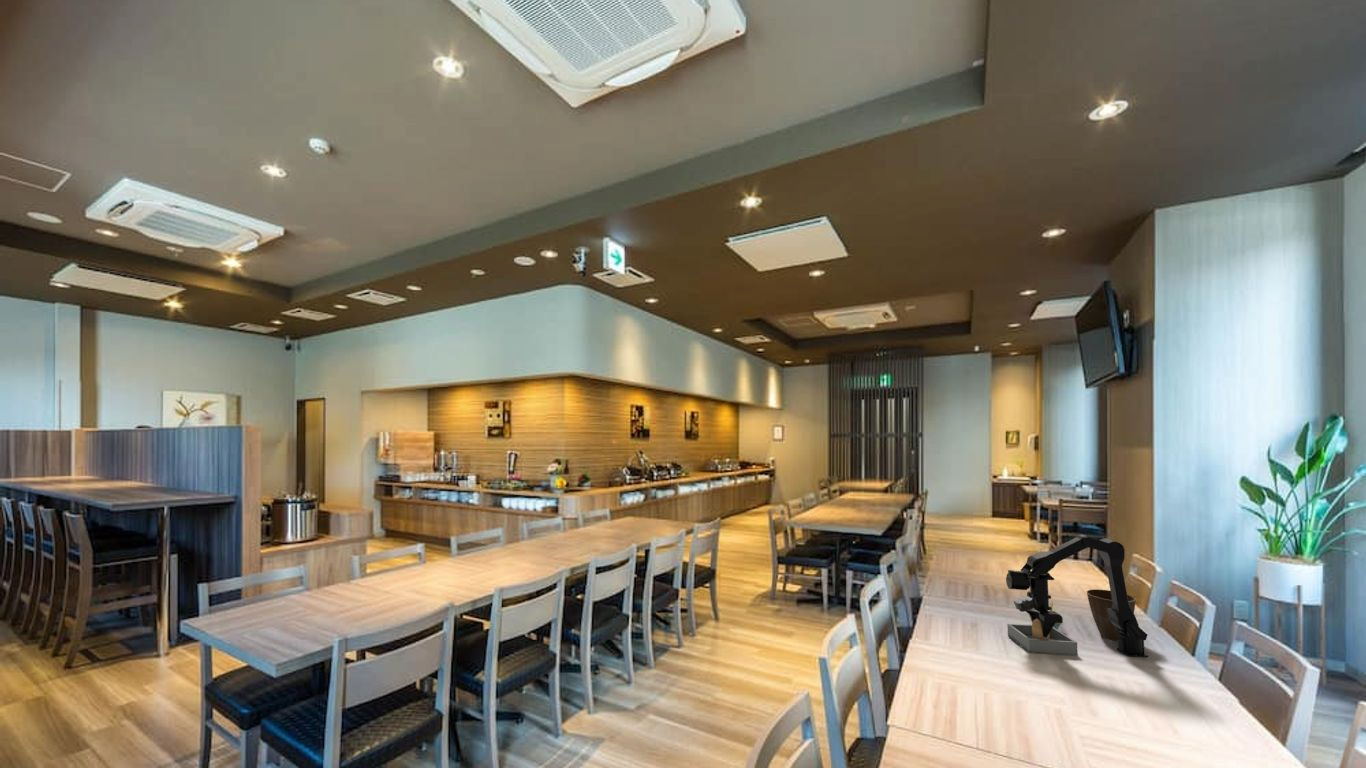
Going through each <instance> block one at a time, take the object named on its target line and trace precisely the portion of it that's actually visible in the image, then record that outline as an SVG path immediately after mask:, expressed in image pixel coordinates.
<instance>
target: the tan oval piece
mask: <svg viewBox="0 0 1366 768" xmlns="http://www.w3.org/2000/svg"><path fill="white" fill-rule="evenodd" d="M1031 625H1032V637H1034V638H1036V639H1039V640H1050V635H1048V636H1047V637H1043V633H1042V627H1041V622H1040V621H1039V620H1038V619H1035V620H1033V622H1032V621H1031Z"/></svg>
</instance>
